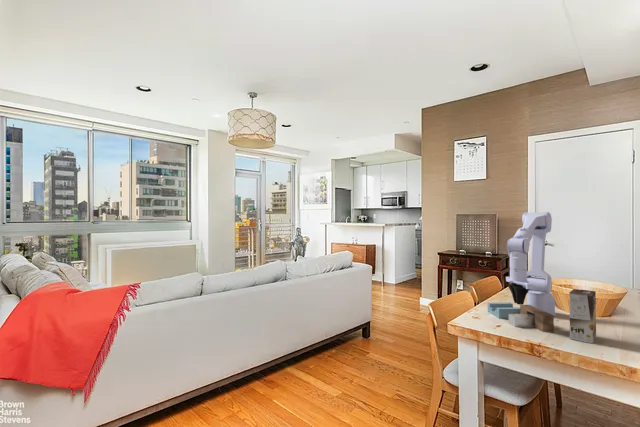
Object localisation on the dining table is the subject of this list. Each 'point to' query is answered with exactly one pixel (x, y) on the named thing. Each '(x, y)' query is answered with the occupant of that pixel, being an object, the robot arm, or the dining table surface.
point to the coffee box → (583, 315)
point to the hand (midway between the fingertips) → (518, 303)
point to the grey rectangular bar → (522, 320)
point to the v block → (502, 309)
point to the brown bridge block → (539, 317)
